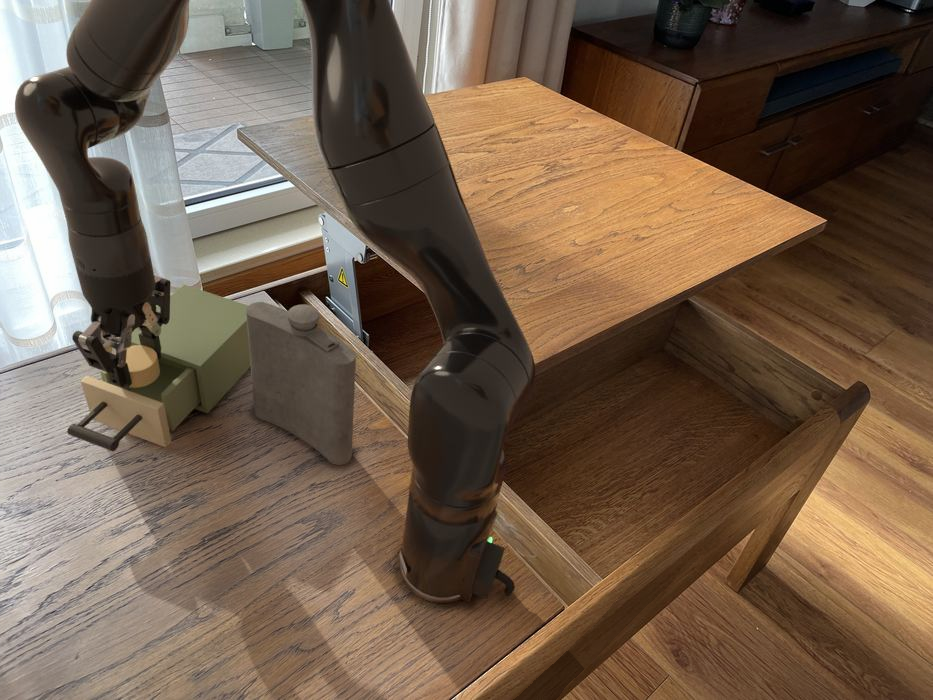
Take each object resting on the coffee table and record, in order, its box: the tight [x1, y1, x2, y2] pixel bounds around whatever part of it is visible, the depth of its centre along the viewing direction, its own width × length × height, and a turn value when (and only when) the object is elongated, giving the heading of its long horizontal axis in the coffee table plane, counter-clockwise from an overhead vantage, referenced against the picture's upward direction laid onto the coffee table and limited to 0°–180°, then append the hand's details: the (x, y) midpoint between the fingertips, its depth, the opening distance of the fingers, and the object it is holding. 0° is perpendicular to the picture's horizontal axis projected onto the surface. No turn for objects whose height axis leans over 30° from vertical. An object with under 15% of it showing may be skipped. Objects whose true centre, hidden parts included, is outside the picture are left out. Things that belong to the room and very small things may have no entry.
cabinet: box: [118, 284, 251, 414], centre depth 99 cm, size 14×12×9 cm
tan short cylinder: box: [115, 345, 160, 388], centre depth 88 cm, size 5×5×3 cm
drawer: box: [66, 357, 201, 452], centre depth 91 cm, size 18×11×7 cm, turn 161°
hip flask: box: [246, 301, 357, 466], centre depth 89 cm, size 16×4×20 cm, turn 58°
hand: (138, 370), depth 88 cm, fingers closed on tan short cylinder, 5 cm apart
